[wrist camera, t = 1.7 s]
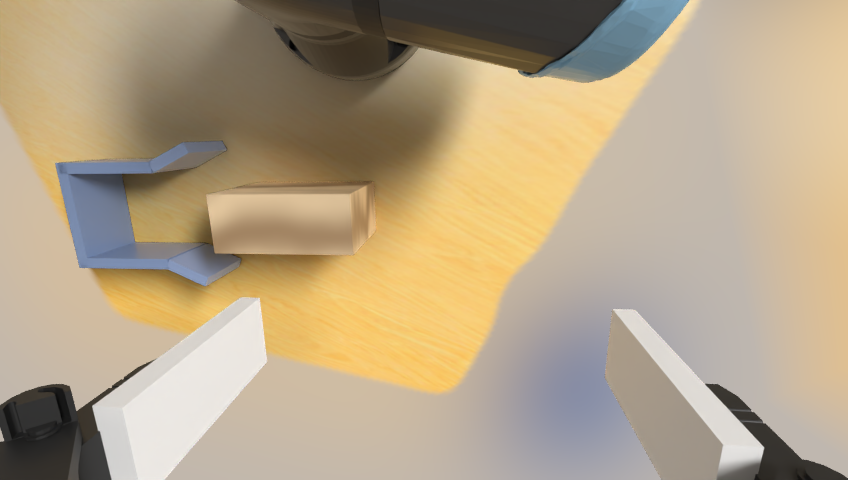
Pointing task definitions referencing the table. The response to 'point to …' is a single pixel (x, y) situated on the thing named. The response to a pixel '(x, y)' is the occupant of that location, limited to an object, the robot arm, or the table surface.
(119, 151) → the table surface
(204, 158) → the blue u-shaped bracket
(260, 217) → the block
